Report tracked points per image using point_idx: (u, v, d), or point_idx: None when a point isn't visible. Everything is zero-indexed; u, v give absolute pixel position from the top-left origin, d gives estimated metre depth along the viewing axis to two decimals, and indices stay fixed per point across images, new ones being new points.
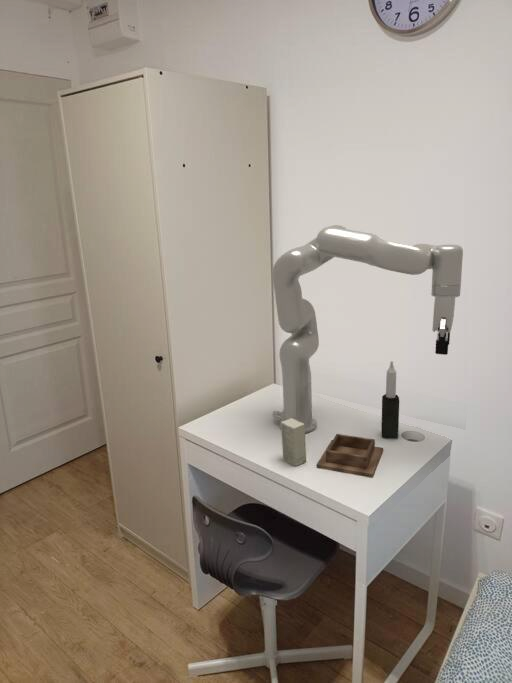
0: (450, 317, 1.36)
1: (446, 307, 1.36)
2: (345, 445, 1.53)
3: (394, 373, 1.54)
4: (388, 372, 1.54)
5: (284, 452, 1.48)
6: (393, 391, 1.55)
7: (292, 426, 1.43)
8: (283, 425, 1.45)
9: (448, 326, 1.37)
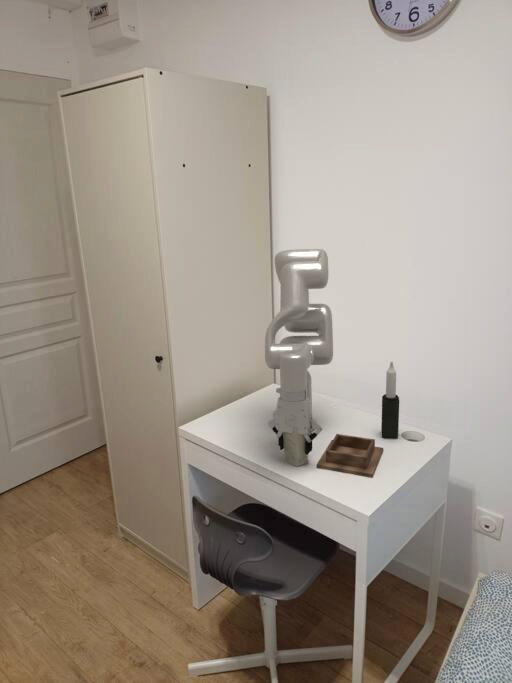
0: None
1: (310, 407, 1.42)
2: (345, 445, 1.53)
3: (394, 373, 1.54)
4: (388, 372, 1.54)
5: (285, 452, 1.48)
6: (393, 391, 1.55)
7: None
8: None
9: None
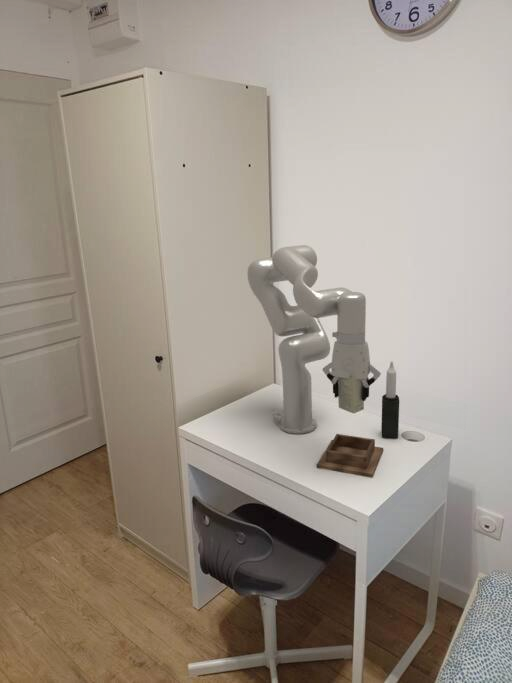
0: None
1: (368, 351, 1.37)
2: (345, 445, 1.53)
3: (394, 373, 1.54)
4: (388, 372, 1.54)
5: (340, 400, 1.43)
6: (393, 391, 1.55)
7: None
8: None
9: (369, 370, 1.39)
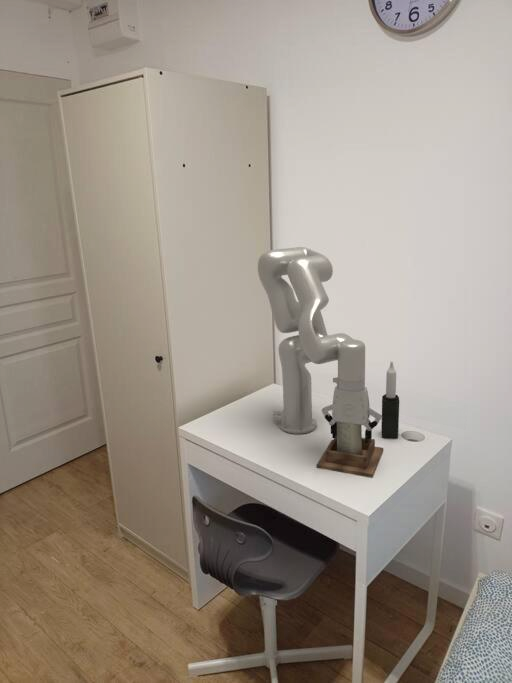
0: None
1: (368, 397, 1.41)
2: None
3: (394, 373, 1.54)
4: (388, 372, 1.54)
5: (339, 447, 1.47)
6: (393, 391, 1.55)
7: None
8: None
9: None
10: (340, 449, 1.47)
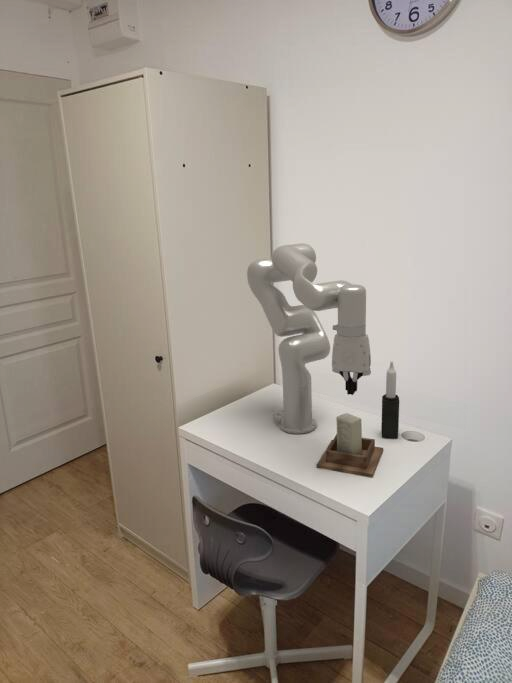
0: None
1: (369, 344, 1.36)
2: None
3: (394, 373, 1.54)
4: (388, 372, 1.54)
5: (339, 447, 1.47)
6: (393, 391, 1.55)
7: (349, 421, 1.42)
8: (339, 420, 1.44)
9: None
10: (340, 449, 1.47)
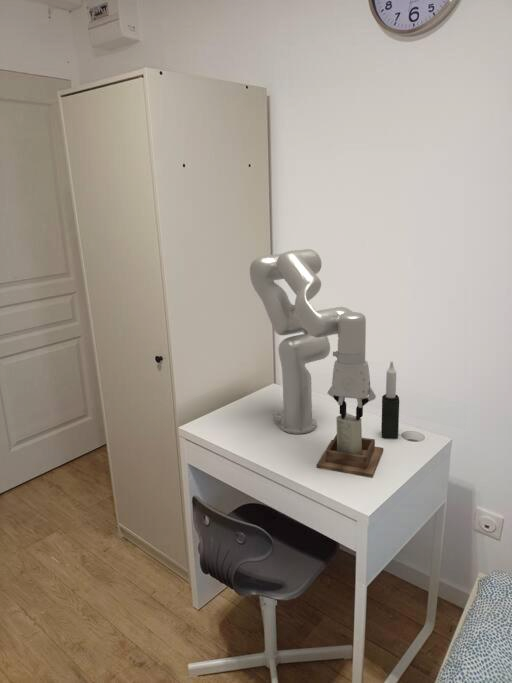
0: None
1: (368, 371, 1.39)
2: None
3: (394, 373, 1.54)
4: (388, 372, 1.54)
5: (339, 447, 1.47)
6: (393, 391, 1.55)
7: (349, 421, 1.42)
8: (339, 420, 1.44)
9: None
10: (340, 449, 1.47)
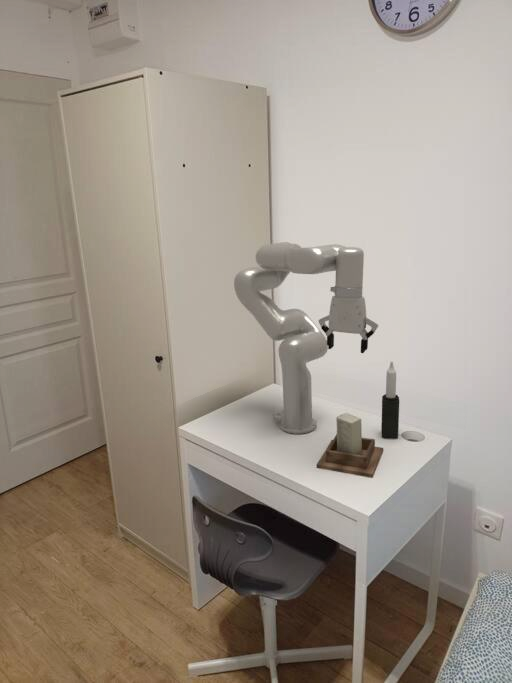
0: None
1: (365, 306, 1.41)
2: None
3: (394, 373, 1.54)
4: (388, 372, 1.54)
5: (339, 447, 1.47)
6: (393, 391, 1.55)
7: (349, 421, 1.42)
8: (339, 420, 1.44)
9: (366, 323, 1.43)
10: (340, 449, 1.47)
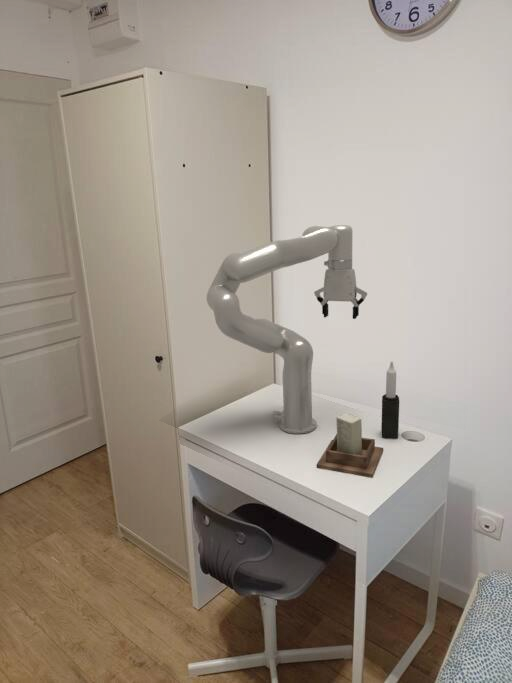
0: None
1: (355, 277, 1.59)
2: None
3: (394, 373, 1.54)
4: (388, 372, 1.54)
5: (339, 447, 1.47)
6: (393, 391, 1.55)
7: (349, 421, 1.42)
8: (339, 420, 1.44)
9: (356, 292, 1.61)
10: (340, 449, 1.47)
